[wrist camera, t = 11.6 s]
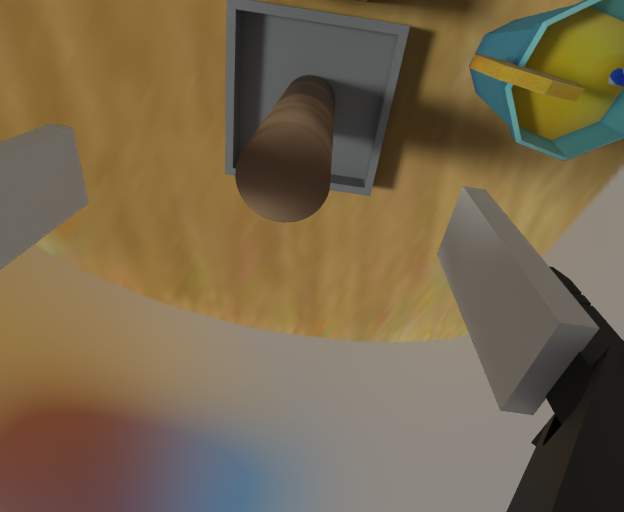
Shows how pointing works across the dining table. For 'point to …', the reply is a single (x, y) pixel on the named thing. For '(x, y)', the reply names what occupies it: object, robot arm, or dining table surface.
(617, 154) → the dining table surface
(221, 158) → the dining table surface
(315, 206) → the dowel
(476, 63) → the cup
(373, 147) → the tray
